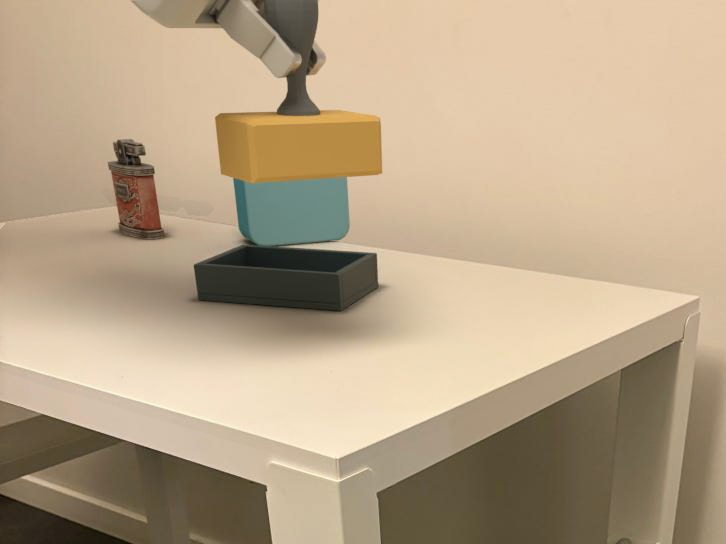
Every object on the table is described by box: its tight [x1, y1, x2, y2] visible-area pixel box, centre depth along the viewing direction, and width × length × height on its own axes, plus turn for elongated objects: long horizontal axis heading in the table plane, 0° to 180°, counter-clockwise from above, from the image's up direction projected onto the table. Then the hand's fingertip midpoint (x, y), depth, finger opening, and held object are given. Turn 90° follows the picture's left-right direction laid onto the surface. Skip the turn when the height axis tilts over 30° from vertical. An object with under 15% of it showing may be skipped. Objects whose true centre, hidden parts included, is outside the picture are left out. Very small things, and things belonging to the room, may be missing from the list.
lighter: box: [107, 138, 166, 240], centre depth 114 cm, size 8×3×10 cm, turn 43°
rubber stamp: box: [214, 0, 383, 183], centre depth 66 cm, size 10×6×12 cm, turn 125°
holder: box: [193, 244, 379, 312], centre depth 91 cm, size 10×14×3 cm
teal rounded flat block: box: [232, 177, 351, 247], centre depth 111 cm, size 12×4×12 cm, turn 119°
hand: (304, 69), depth 65 cm, fingers closed on rubber stamp, 3 cm apart
